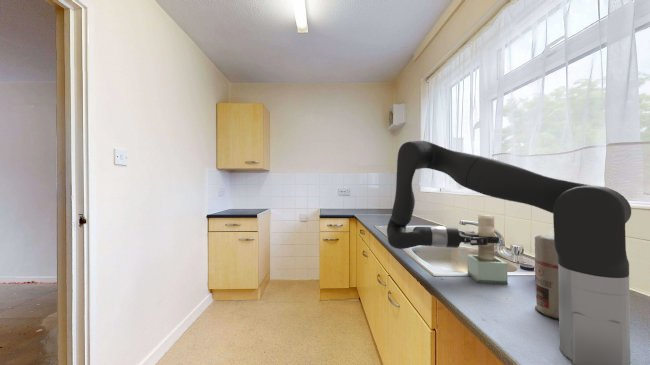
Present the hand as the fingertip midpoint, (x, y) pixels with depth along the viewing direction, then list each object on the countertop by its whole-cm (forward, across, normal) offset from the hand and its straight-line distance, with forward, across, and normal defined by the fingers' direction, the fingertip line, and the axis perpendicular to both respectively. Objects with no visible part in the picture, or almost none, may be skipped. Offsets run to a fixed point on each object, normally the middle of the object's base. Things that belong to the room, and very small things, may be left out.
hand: (494, 238), depth 87 cm
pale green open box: (-3, 0, +14) cm, 15 cm away
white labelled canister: (+4, -23, +15) cm, 28 cm away
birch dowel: (-3, 0, +12) cm, 12 cm away
